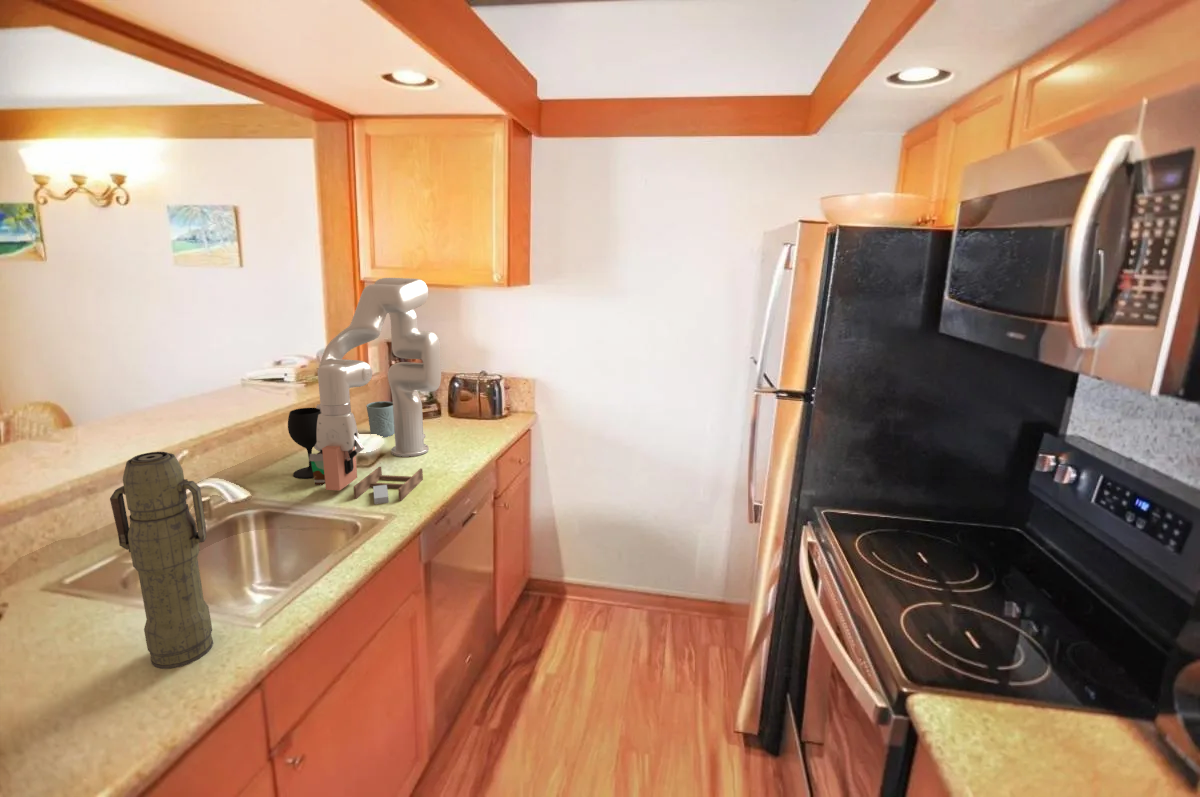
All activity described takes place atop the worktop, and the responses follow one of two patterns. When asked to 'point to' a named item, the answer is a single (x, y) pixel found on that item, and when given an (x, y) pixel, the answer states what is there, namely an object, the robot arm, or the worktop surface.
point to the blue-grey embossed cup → (381, 418)
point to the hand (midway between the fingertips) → (341, 471)
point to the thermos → (165, 556)
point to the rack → (377, 475)
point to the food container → (317, 468)
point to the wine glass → (304, 434)
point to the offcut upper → (380, 494)
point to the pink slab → (337, 468)
